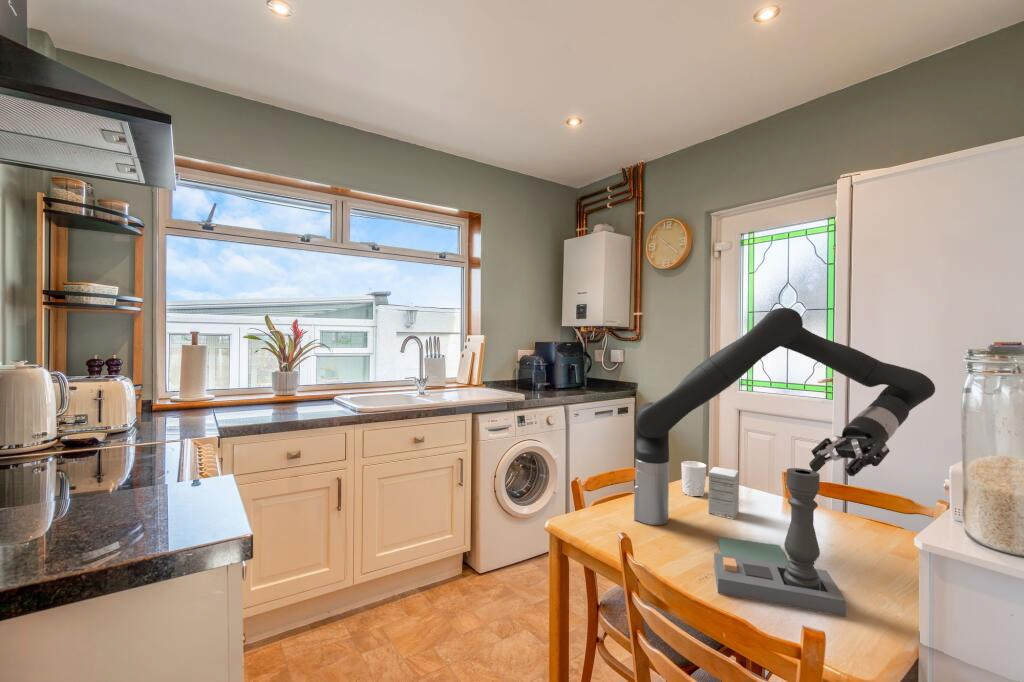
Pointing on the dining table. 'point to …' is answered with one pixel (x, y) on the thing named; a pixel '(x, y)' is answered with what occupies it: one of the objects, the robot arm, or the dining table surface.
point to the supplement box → (723, 492)
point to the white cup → (693, 477)
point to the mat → (752, 550)
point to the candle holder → (802, 529)
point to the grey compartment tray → (775, 585)
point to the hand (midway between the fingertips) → (829, 470)
